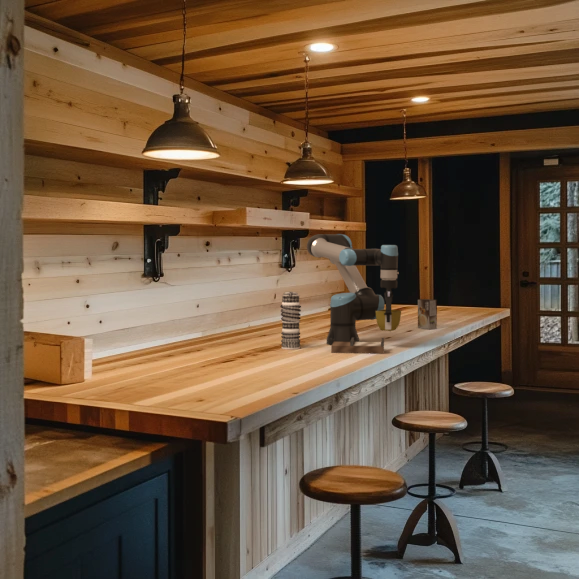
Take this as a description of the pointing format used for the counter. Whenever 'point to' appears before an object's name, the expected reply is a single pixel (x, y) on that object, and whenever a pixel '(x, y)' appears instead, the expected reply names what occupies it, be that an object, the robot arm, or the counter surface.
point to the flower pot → (394, 319)
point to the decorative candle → (290, 320)
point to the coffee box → (427, 314)
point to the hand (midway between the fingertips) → (388, 327)
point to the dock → (358, 347)
